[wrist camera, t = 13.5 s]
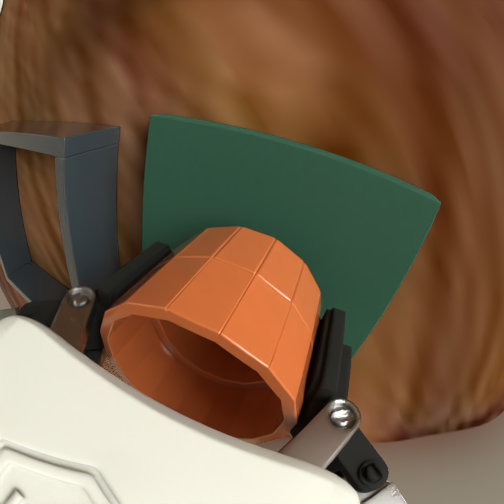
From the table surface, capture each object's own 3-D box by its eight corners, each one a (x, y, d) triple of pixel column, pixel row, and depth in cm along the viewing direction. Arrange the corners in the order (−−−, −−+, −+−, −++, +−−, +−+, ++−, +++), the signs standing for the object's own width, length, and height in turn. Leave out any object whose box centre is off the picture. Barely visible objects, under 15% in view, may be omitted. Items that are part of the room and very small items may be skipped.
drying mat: (153, 308, 18) (144, 318, 17) (164, 113, 12) (149, 114, 11) (328, 377, 16) (325, 391, 15) (433, 194, 10) (442, 203, 9)
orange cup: (176, 316, 14) (118, 388, 10) (185, 200, 11) (84, 264, 6) (293, 364, 13) (262, 457, 9) (347, 256, 10) (340, 376, 5)
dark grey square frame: (29, 264, 24) (6, 280, 21) (12, 120, 15) (-21, 130, 12) (128, 333, 21) (101, 363, 18) (120, 126, 13) (64, 138, 9)
